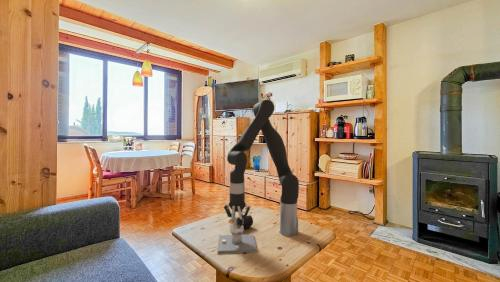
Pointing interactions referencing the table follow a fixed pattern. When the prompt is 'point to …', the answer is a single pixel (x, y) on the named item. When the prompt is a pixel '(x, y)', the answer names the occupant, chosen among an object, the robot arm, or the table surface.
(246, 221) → the end cap
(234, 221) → the lock knob
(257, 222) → the table surface
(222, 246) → the base
